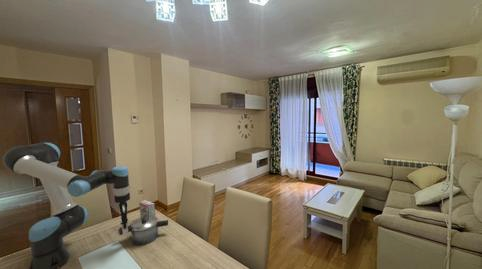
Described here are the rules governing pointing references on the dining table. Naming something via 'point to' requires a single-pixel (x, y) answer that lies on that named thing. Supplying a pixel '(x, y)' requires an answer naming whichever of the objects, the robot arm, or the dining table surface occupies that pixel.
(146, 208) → the candy bar box
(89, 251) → the dining table surface
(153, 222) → the lid
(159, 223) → the pot
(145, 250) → the dining table surface
